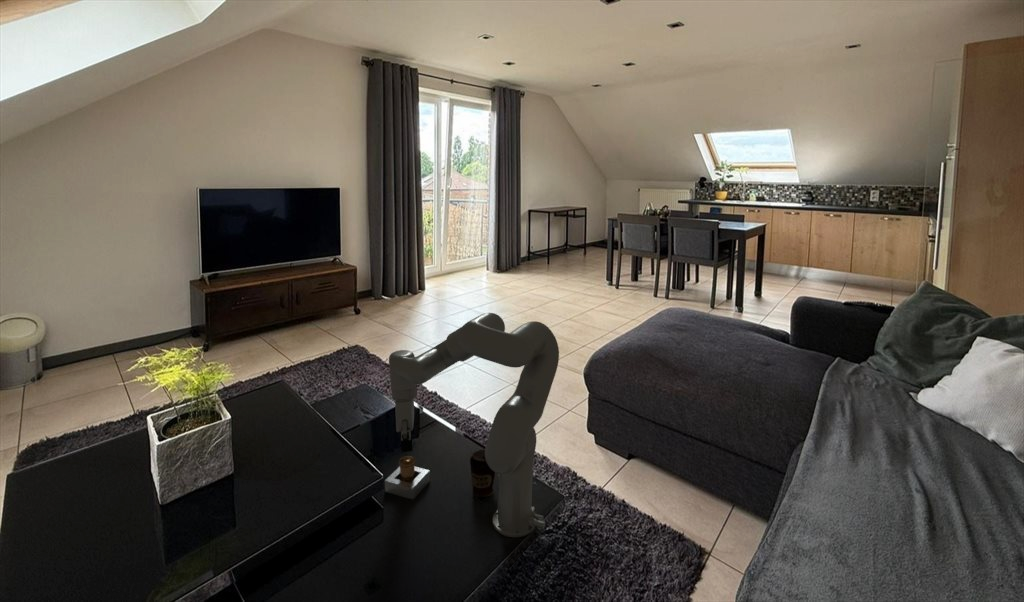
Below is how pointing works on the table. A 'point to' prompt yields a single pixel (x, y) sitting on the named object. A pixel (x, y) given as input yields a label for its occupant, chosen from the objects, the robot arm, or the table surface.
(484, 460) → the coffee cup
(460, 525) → the table surface
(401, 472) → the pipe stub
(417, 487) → the white square frame block
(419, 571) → the table surface
